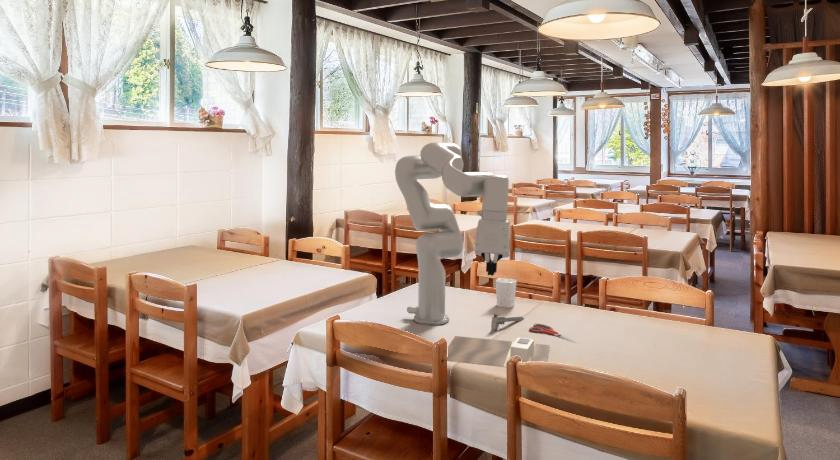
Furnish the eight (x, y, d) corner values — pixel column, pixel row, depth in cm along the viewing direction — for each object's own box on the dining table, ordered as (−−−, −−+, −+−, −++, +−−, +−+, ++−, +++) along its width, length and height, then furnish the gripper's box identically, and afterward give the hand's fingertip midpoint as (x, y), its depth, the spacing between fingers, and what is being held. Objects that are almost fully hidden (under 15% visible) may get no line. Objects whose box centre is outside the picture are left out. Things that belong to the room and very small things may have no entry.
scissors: (580, 346, 184) (580, 342, 184) (524, 331, 199) (524, 327, 199) (592, 341, 190) (592, 336, 189) (537, 326, 204) (537, 322, 204)
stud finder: (510, 359, 170) (510, 346, 169) (517, 349, 178) (517, 336, 178) (527, 362, 168) (527, 348, 167) (533, 352, 176) (534, 339, 176)
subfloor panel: (439, 361, 170) (439, 359, 170) (455, 337, 191) (455, 336, 191) (545, 372, 162) (545, 371, 162) (549, 346, 183) (549, 345, 183)
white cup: (494, 307, 226) (495, 282, 224) (495, 302, 233) (496, 277, 232) (515, 308, 224) (516, 283, 223) (515, 303, 232) (516, 278, 231)
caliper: (493, 333, 196) (494, 315, 195) (491, 332, 197) (491, 314, 196) (524, 319, 212) (524, 302, 211) (521, 319, 212) (522, 302, 211)
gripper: (467, 215, 176) (464, 274, 179) (517, 219, 171) (513, 280, 175) (472, 212, 183) (470, 269, 186) (520, 215, 179) (517, 274, 182)
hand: (491, 274), depth 180 cm, fingers closed
